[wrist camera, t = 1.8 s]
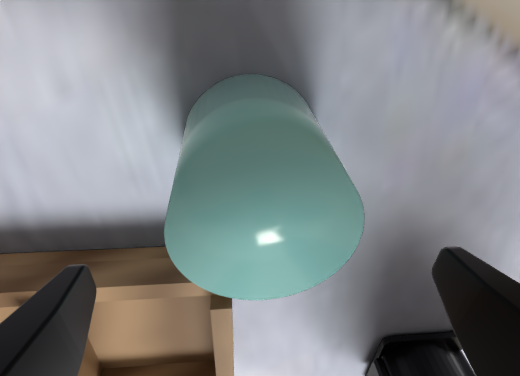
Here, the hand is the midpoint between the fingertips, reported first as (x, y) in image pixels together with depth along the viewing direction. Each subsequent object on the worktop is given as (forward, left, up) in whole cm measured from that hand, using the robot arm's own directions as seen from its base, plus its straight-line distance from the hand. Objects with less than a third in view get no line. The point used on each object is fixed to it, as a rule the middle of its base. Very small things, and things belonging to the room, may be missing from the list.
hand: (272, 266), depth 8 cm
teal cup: (0, 0, -7) cm, 7 cm away
